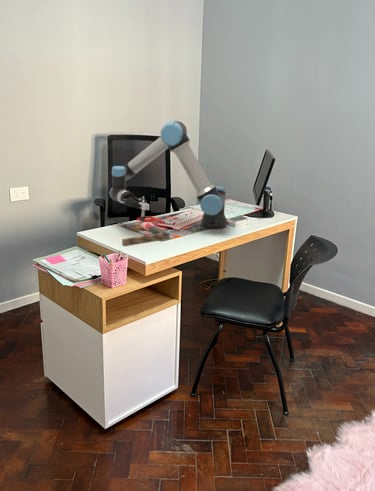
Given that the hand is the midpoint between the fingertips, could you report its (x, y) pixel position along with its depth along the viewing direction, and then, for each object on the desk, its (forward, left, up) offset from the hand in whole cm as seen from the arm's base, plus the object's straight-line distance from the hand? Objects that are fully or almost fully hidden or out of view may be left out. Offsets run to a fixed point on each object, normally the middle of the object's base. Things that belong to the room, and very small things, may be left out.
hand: (146, 207), depth 220 cm
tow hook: (-3, -5, -8) cm, 10 cm away
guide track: (+2, -6, -17) cm, 18 cm away
